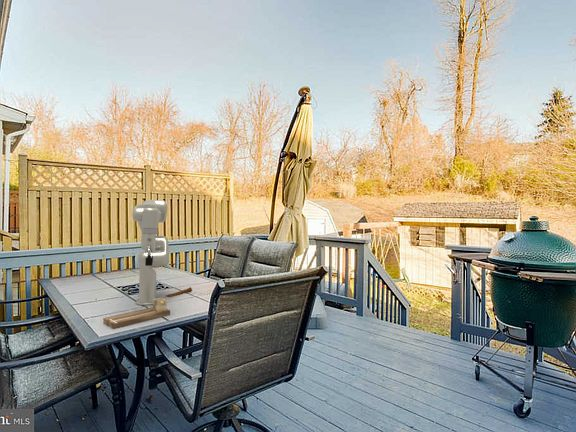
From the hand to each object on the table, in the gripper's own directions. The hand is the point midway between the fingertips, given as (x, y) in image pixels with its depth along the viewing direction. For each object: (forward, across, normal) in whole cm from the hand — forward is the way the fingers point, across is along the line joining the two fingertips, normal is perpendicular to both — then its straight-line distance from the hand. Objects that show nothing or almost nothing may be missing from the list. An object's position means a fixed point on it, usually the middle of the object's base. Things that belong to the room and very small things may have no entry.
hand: (149, 264), depth 165 cm
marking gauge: (+26, +4, -5) cm, 27 cm away
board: (+28, +1, +5) cm, 29 cm away
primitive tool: (+28, +46, -18) cm, 57 cm away
